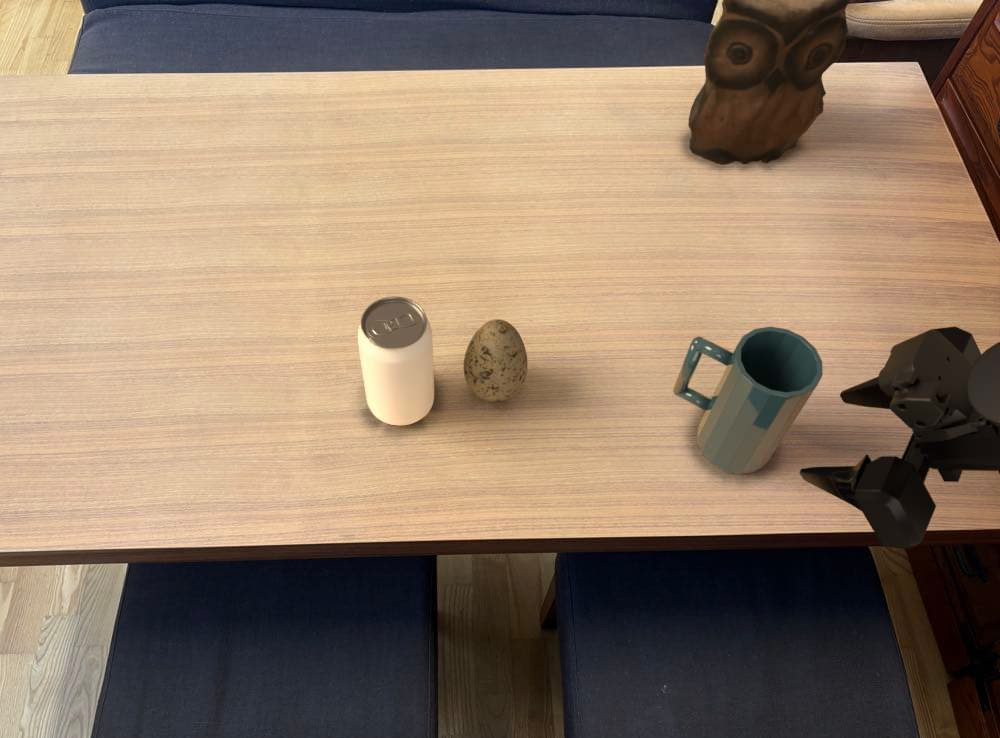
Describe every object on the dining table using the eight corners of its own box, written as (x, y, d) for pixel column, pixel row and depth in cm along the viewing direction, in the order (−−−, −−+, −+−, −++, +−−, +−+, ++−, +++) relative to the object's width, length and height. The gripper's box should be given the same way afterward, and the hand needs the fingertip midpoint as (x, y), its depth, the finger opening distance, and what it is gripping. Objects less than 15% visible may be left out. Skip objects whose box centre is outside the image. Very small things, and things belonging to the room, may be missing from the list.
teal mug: (782, 433, 80) (835, 352, 69) (752, 487, 77) (802, 410, 66) (682, 381, 83) (717, 295, 72) (649, 430, 80) (681, 348, 69)
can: (357, 384, 83) (344, 305, 72) (419, 363, 84) (415, 283, 74) (381, 437, 79) (370, 362, 69) (444, 414, 81) (444, 338, 71)
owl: (810, 146, 102) (881, -13, 85) (744, 195, 97) (806, 37, 80) (727, 95, 107) (779, -65, 90) (661, 139, 102) (702, -21, 85)
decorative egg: (515, 359, 84) (522, 294, 76) (531, 409, 81) (540, 346, 73) (457, 370, 84) (457, 305, 75) (470, 420, 80) (473, 358, 72)
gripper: (1028, 257, 60) (823, 291, 73) (949, 445, 52) (732, 447, 64) (1076, 372, 64) (874, 385, 77) (1010, 563, 56) (796, 543, 69)
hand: (822, 434), depth 72 cm, fingers open, 9 cm apart
